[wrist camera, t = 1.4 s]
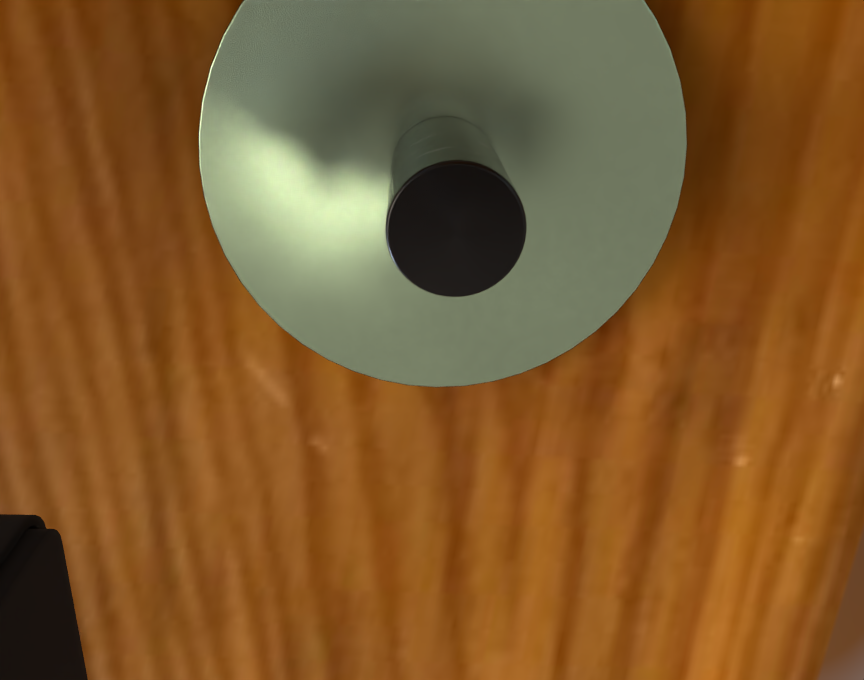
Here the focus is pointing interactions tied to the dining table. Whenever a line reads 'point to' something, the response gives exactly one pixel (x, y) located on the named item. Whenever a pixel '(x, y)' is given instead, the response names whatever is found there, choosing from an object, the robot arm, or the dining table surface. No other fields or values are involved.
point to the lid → (442, 174)
